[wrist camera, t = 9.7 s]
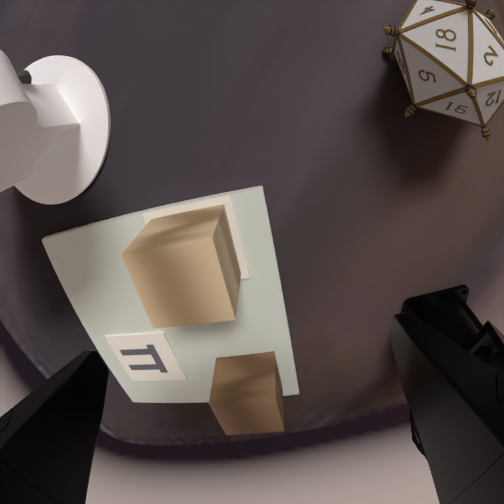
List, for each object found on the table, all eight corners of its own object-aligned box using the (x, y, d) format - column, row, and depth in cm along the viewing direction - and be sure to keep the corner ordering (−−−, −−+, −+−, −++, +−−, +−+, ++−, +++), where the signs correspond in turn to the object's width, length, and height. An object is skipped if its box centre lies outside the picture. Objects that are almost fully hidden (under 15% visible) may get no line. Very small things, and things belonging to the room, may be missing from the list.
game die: (382, 47, 18) (380, -61, 8) (485, 75, 15) (523, -18, 6) (372, 146, 17) (380, 25, 8) (494, 179, 15) (575, 98, 5)
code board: (262, 185, 19) (262, 188, 19) (298, 389, 28) (299, 395, 27) (45, 236, 21) (39, 241, 21) (134, 398, 30) (132, 403, 29)
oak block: (224, 204, 19) (212, 237, 15) (241, 273, 21) (235, 319, 17) (150, 219, 20) (121, 254, 15) (173, 283, 22) (153, 328, 17)
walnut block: (274, 351, 25) (275, 398, 20) (282, 386, 27) (284, 431, 23) (216, 357, 25) (208, 403, 21) (230, 392, 28) (226, 435, 23)
